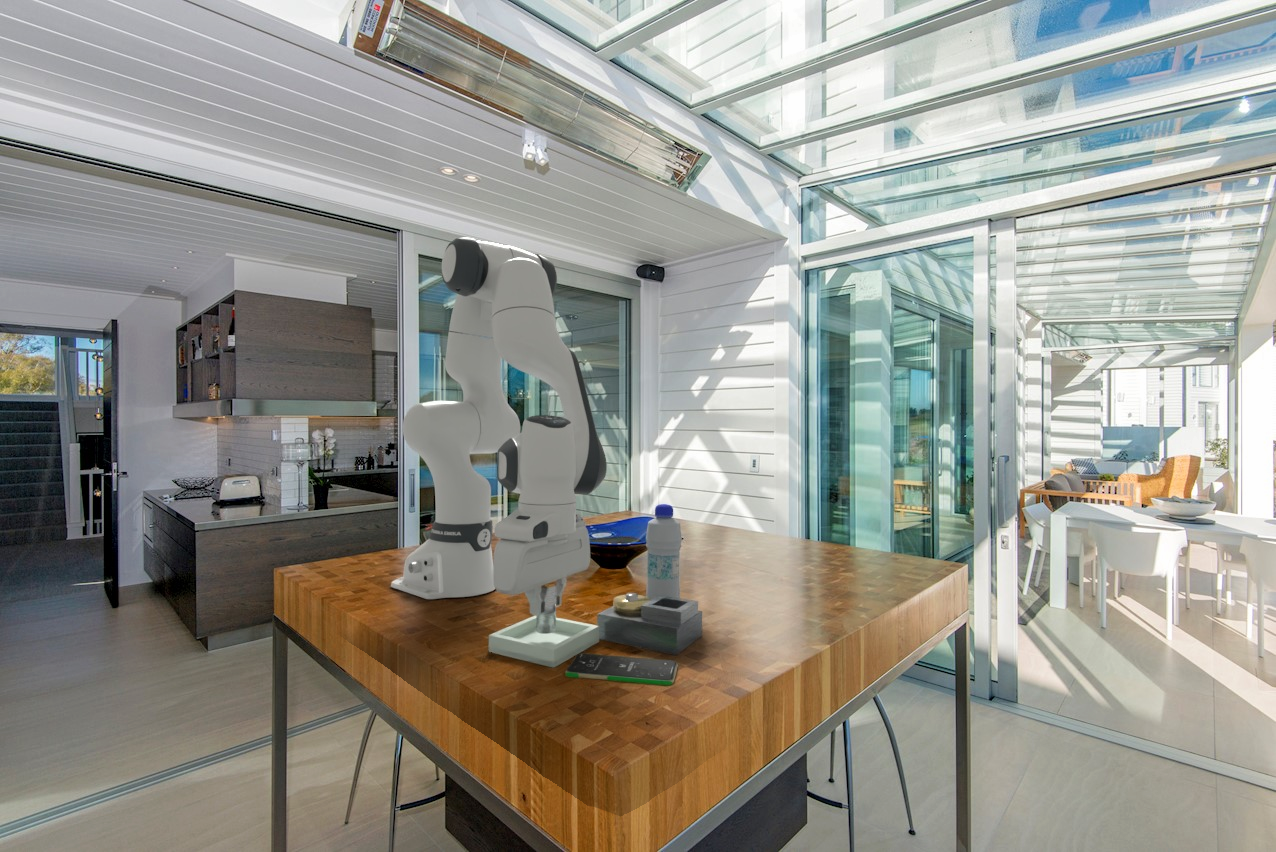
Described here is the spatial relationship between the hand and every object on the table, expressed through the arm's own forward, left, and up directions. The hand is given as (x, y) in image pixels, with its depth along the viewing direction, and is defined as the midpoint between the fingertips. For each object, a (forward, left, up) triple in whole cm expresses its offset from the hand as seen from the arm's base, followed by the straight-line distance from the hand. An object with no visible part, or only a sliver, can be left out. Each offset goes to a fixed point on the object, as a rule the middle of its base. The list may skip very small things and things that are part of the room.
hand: (545, 610), depth 92 cm
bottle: (+8, +25, -6) cm, 27 cm away
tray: (0, 0, -6) cm, 6 cm away
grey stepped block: (+12, +12, -6) cm, 18 cm away
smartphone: (+15, -2, -6) cm, 16 cm away
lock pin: (0, 0, -3) cm, 3 cm away
